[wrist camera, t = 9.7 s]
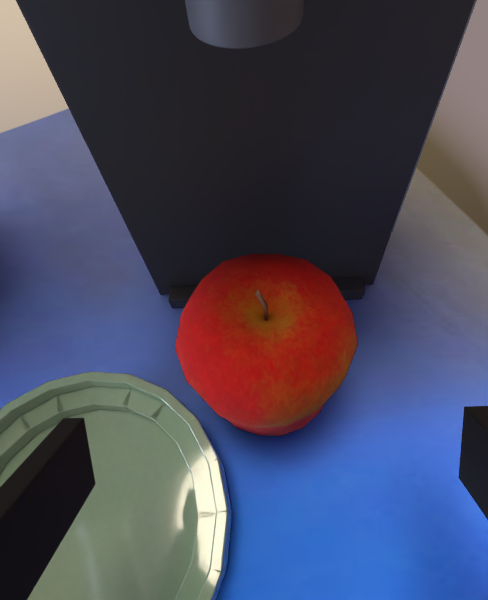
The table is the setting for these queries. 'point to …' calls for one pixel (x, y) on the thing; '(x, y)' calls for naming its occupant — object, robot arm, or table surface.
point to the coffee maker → (253, 122)
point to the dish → (129, 491)
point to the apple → (266, 341)
